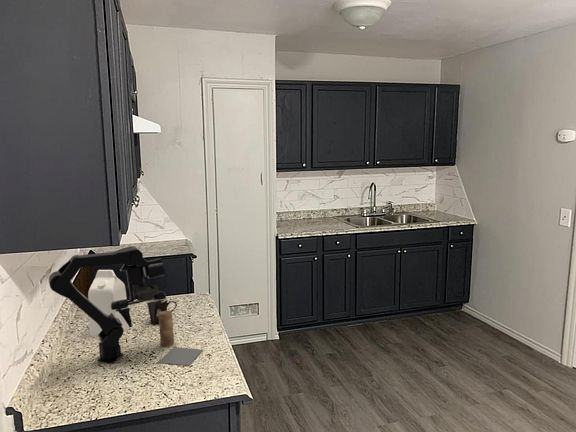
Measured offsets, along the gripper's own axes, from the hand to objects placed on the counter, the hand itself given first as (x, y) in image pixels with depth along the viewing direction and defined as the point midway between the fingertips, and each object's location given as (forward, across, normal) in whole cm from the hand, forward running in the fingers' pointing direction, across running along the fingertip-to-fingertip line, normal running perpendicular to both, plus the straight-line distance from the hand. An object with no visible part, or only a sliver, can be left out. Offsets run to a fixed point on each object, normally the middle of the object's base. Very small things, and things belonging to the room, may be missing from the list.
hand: (142, 324), depth 163 cm
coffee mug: (+4, +21, +26) cm, 34 cm away
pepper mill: (+10, +11, +6) cm, 16 cm away
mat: (+14, +9, -7) cm, 18 cm away
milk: (+3, +2, +34) cm, 34 cm away
